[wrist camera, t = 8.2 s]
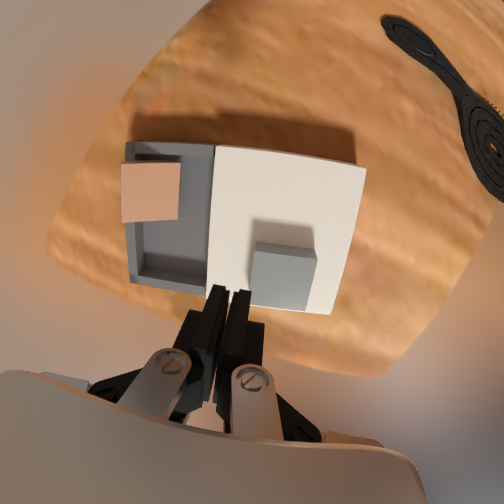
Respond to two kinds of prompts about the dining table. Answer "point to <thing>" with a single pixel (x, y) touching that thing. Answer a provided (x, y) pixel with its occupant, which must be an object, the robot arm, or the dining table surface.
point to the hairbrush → (459, 105)
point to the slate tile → (282, 276)
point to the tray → (175, 221)
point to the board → (281, 215)
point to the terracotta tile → (149, 190)
